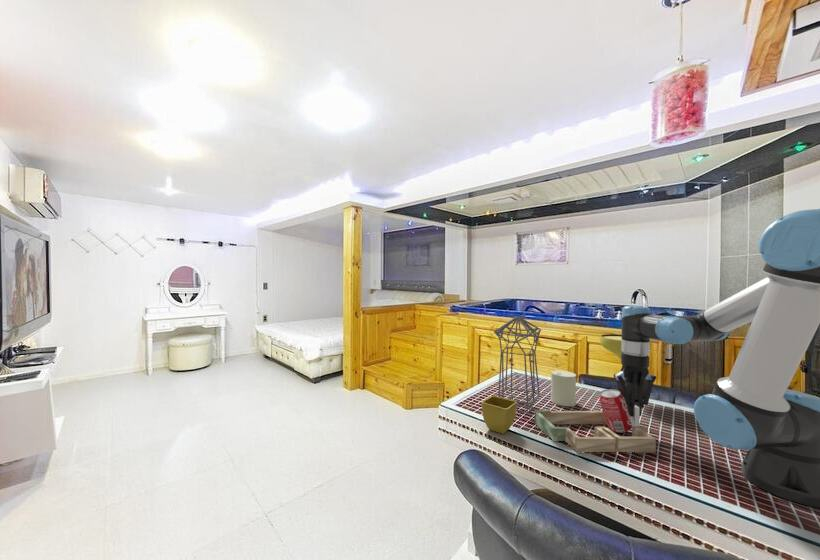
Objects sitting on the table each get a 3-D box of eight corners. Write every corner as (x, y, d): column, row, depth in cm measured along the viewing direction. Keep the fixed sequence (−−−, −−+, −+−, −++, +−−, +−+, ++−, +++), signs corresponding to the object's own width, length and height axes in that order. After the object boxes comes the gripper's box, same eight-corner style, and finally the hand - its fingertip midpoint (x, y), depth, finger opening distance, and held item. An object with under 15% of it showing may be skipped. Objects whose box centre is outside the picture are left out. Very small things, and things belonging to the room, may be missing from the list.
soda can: (625, 420, 105) (615, 386, 105) (638, 431, 98) (627, 394, 98) (603, 425, 106) (593, 391, 106) (615, 436, 99) (604, 400, 99)
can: (545, 399, 129) (545, 370, 129) (561, 396, 133) (561, 368, 133) (565, 408, 121) (565, 376, 121) (581, 404, 125) (581, 374, 125)
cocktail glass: (615, 403, 126) (616, 341, 126) (591, 388, 144) (591, 333, 144) (661, 405, 125) (662, 342, 125) (631, 389, 143) (632, 334, 143)
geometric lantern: (537, 419, 110) (535, 319, 110) (492, 410, 118) (491, 317, 119) (544, 404, 124) (542, 315, 124) (503, 397, 132) (502, 313, 132)
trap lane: (664, 452, 90) (664, 436, 90) (564, 453, 88) (564, 437, 88) (617, 422, 109) (617, 409, 109) (534, 422, 107) (534, 409, 107)
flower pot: (492, 420, 109) (492, 394, 109) (517, 428, 103) (517, 401, 103) (480, 430, 102) (480, 402, 102) (506, 438, 96) (507, 409, 96)
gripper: (645, 351, 107) (644, 420, 107) (607, 350, 106) (606, 420, 106) (664, 356, 99) (662, 431, 99) (623, 356, 99) (622, 431, 99)
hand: (633, 425), depth 103 cm, fingers closed
